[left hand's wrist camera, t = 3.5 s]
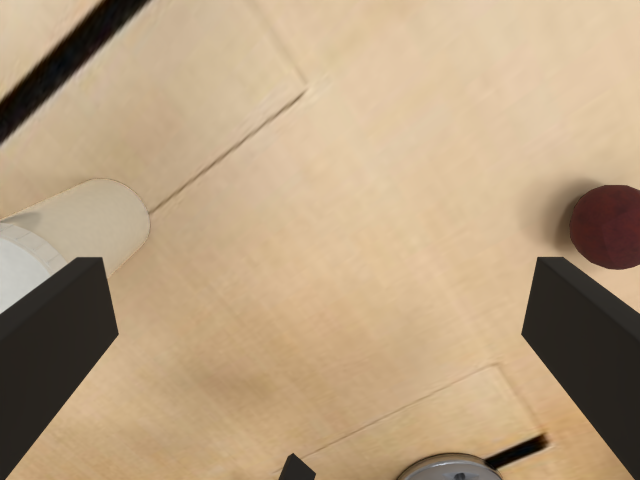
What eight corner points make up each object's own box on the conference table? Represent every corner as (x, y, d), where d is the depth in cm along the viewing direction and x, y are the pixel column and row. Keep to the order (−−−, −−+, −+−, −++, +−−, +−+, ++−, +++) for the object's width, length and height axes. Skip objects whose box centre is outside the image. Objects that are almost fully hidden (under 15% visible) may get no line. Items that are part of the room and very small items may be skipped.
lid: (108, 301, 29) (94, 315, 27) (17, 361, 31) (-2, 378, 29) (4, 193, 26) (-19, 202, 24) (-89, 267, 28) (-117, 280, 26)
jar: (167, 229, 42) (87, 310, 27) (107, 270, 43) (2, 366, 29) (109, 161, 39) (-13, 210, 25) (48, 207, 41) (-99, 278, 27)
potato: (571, 262, 43) (616, 296, 36) (541, 202, 41) (584, 226, 34) (641, 225, 41) (701, 253, 35) (615, 160, 39) (674, 177, 32)
